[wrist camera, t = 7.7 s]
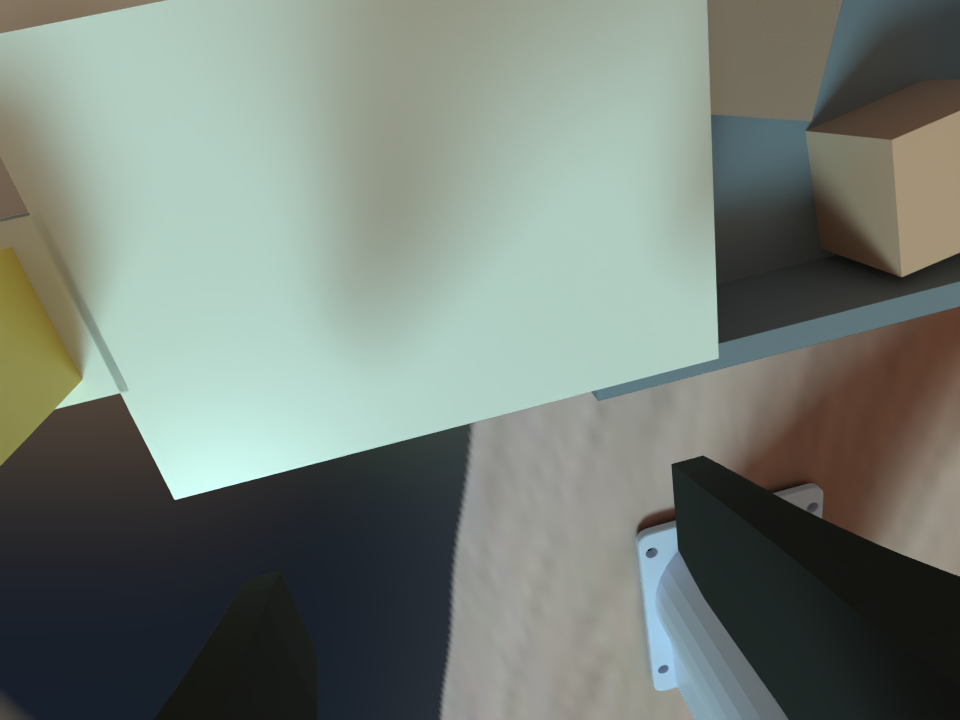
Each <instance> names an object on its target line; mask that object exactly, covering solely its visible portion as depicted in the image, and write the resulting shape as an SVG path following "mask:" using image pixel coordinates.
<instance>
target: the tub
mask: <svg viewBox="0 0 960 720" xmlns="http://www.w3.org/2000/svg"><path fill="white" fill-rule="evenodd" d="M940 79H960V0H842V4H841V8H840V11H839V15H838V19H837V23H836V27H835V31H834V35H833V39H832V43H831V47H830V51H829V54H828V58H827V62H826V66H825V70H824V74H823V78H822V82H821V86H820V90H819V93H818V97H817V101H816V105H815V109H814V113H813V117H812V121H798V120H784V119H769V118H755V117H740V116H726V115H711V137H712V167H713V198H714V229H715V259H716V290H717V321H718V352H719V358H718V359H715V360H711V361H707V362H703V363H699V364H695V365H692V366H688V367H684V368H680V369H676V370H672V371H668V372H665V373H661V374H657V375H653V376H649V377H645V378H642V379H638V380H634V381H630V382H626V383H622V384H618V385H615V386H611V387H607V388H603V389H599V390H595V391H591V392H592V393H593V395H594V396H595V397H596V399H597V400H598V401H600V400H604V399H608V398H611V397H615V396H619V395H623V394H627V393H631V392H634V391H638V390H642V389H646V388H650V387H654V386H657V385H661V384H665V383H669V382H673V381H677V380H680V379H684V378H688V377H692V376H696V375H700V374H703V373H707V372H711V371H715V370H719V369H722V368H726V367H730V366H734V365H738V364H742V363H745V362H749V361H753V360H757V359H761V358H765V357H768V356H772V355H776V354H780V353H784V352H788V351H791V350H795V349H799V348H803V347H807V346H811V345H814V344H818V343H822V342H826V341H830V340H833V339H837V338H841V337H845V336H849V335H853V334H856V333H860V332H864V331H868V330H872V329H876V328H879V327H883V326H887V325H891V324H895V323H899V322H902V321H906V320H910V319H914V318H918V317H922V316H925V315H929V314H933V313H937V312H941V311H944V310H948V309H952V308H956V307H960V253H957V254H955V255H953V256H950V257H948V258H946V259H943V260H941V261H939V262H936V263H934V264H932V265H929V266H927V267H925V268H922V269H920V270H918V271H915V272H913V273H911V274H908V275H906V276H904V277H900V276H897V275H894V274H891V273H888V272H886V271H883V270H880V269H877V268H874V267H872V266H869V265H866V264H863V263H860V262H858V261H855V260H852V259H849V258H846V257H844V256H841V255H838V254H835V253H832V252H830V251H827V250H824V249H821V245H820V238H819V230H818V223H817V215H816V208H815V200H814V193H813V185H812V178H811V170H810V163H809V155H808V148H807V140H806V133H805V131H806V130H809V129H811V128H813V127H816V126H818V125H820V124H823V123H825V122H827V121H830V120H832V119H834V118H837V117H839V116H841V115H844V114H846V113H848V112H851V111H853V110H855V109H858V108H860V107H862V106H864V105H867V104H869V103H871V102H874V101H876V100H878V99H881V98H883V97H885V96H888V95H890V94H892V93H895V92H897V91H899V90H902V89H904V88H906V87H909V86H911V85H913V84H916V83H918V82H920V81H923V80H940Z"/></svg>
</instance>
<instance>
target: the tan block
mask: <svg viewBox="0 0 960 720" xmlns="http://www.w3.org/2000/svg"><path fill="white" fill-rule="evenodd" d="M805 133H806V140H807V148H808V155H809V163H810V170H811V178H812V185H813V193H814V200H815V208H816V215H817V223H818V230H819V238H820V245H821V249H824V250H827V251H830V252H832V253H835V254H838V255H841V256H844V257H846V258H849V259H852V260H855V261H858V262H860V263H863V264H866V265H869V266H872V267H874V268H877V269H880V270H883V271H886V272H888V273H891V274H894V275H897V276H900V277H904V276H906V275H908V274H911V273H913V272H915V271H918V270H920V269H922V268H925V267H927V266H929V265H932V264H934V263H936V262H939V261H941V260H943V259H946V258H948V257H950V256H953V255H955V254H957V253H960V79H940V80H923V81H920V82H918V83H916V84H913V85H911V86H909V87H906V88H904V89H902V90H899V91H897V92H895V93H892V94H890V95H888V96H885V97H883V98H881V99H878V100H876V101H874V102H871V103H869V104H867V105H864V106H862V107H860V108H858V109H855V110H853V111H851V112H848V113H846V114H844V115H841V116H839V117H837V118H834V119H832V120H830V121H827V122H825V123H823V124H820V125H818V126H816V127H813V128H811V129H809V130H806V131H805Z"/></svg>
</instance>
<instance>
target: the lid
mask: <svg viewBox="0 0 960 720" xmlns="http://www.w3.org/2000/svg"><path fill="white" fill-rule="evenodd" d="M0 157H1V159H2V161H3V163H4V165H5V167H6V169H7V171H8V173H9V175H10V177H11V178H12V181H13V183H14V184H15V187H16V188H17V190H18V192H19V194H20V196H21V198H22V200H23V202H24V204H25V206H26V208H27V210H28V213H24V214H20V215H15V216H11V217H6V218H2V219H0V466H1V465H2V464H3V462H4V461H5V460H6V459H7V458H8V457H9V456H10V455H11V454H12V453H13V452H14V451H15V450H16V449H17V448H18V447H19V446H20V445H21V444H22V443H23V442H24V441H25V439H26V438H27V437H28V436H29V435H30V434H31V433H32V432H33V431H34V430H35V429H36V428H37V427H38V426H39V425H40V424H41V423H42V422H43V420H45V419H46V417H48V415H49V414H50V413H51V412H52V411H53V410H54V409H57V408H61V407H65V406H69V405H73V404H77V403H81V402H86V401H90V400H94V399H97V398H102V397H106V396H110V395H114V394H118V393H121V395H122V397H123V399H124V401H125V403H126V405H127V407H128V409H129V411H130V413H131V415H132V417H133V419H134V421H135V423H136V425H137V426H138V429H139V431H140V433H141V435H142V436H143V438H144V440H145V442H146V444H147V446H148V448H149V450H150V452H151V454H152V456H153V458H154V460H155V462H156V464H157V466H158V468H159V470H160V472H161V474H162V476H163V478H164V480H165V482H166V484H167V486H168V488H169V489H170V491H171V494H172V495H173V497H174V499H175V500H176V499H180V498H184V497H187V496H191V495H195V494H199V493H203V492H207V491H211V490H214V489H218V488H222V487H226V486H230V485H233V484H238V483H241V482H245V481H248V480H253V479H257V478H261V477H264V476H268V475H272V474H276V473H280V472H284V471H288V470H291V469H295V468H299V467H303V466H307V465H311V464H314V463H318V462H322V461H326V460H330V459H333V458H337V457H341V456H345V455H349V454H353V453H357V452H361V451H364V450H368V449H372V448H376V447H380V446H384V445H387V444H391V443H395V442H399V441H403V440H407V439H411V438H414V437H418V436H422V435H426V434H430V433H434V432H438V431H441V430H445V429H449V428H453V427H457V426H461V425H465V424H468V423H472V422H476V421H480V420H484V419H488V418H491V417H495V416H499V415H503V414H507V413H511V412H515V411H518V410H522V409H526V408H530V407H534V406H538V405H541V404H545V403H549V402H553V401H557V400H561V399H565V398H568V397H572V396H576V395H580V394H584V393H588V392H591V391H595V390H599V389H603V388H607V387H611V386H615V385H618V384H622V383H626V382H630V381H634V380H638V379H642V378H645V377H649V376H653V375H657V374H661V373H665V372H668V371H672V370H676V369H680V368H684V367H688V366H692V365H695V364H699V363H703V362H707V361H711V360H715V359H718V358H719V352H718V321H717V290H716V259H715V229H714V198H713V167H712V137H711V106H710V75H709V44H708V14H707V0H165V1H160V2H155V3H150V4H145V5H140V6H135V7H130V8H125V9H120V10H115V11H111V12H105V13H100V14H95V15H91V16H85V17H81V18H76V19H71V20H66V21H61V22H56V23H51V24H46V25H41V26H36V27H31V28H26V29H22V30H16V31H12V32H7V33H2V34H0Z"/></svg>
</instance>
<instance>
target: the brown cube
mask: <svg viewBox="0 0 960 720" xmlns="http://www.w3.org/2000/svg"><path fill="white" fill-rule="evenodd" d="M841 4H842V0H707V14H708V44H709V75H710V106H711V115H726V116H740V117H755V118H769V119H784V120H798V121H812V117H813V113H814V109H815V105H816V101H817V97H818V93H819V90H820V86H821V82H822V78H823V74H824V70H825V66H826V62H827V58H828V54H829V51H830V47H831V43H832V39H833V35H834V31H835V27H836V23H837V19H838V15H839V11H840V8H841Z"/></svg>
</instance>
